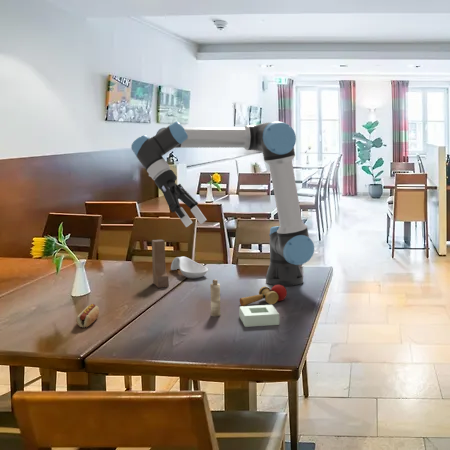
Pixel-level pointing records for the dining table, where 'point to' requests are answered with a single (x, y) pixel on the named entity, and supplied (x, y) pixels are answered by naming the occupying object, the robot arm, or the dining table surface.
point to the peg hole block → (258, 315)
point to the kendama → (266, 295)
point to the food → (88, 316)
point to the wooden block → (159, 264)
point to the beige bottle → (215, 298)
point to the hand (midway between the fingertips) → (196, 223)
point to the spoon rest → (188, 267)
